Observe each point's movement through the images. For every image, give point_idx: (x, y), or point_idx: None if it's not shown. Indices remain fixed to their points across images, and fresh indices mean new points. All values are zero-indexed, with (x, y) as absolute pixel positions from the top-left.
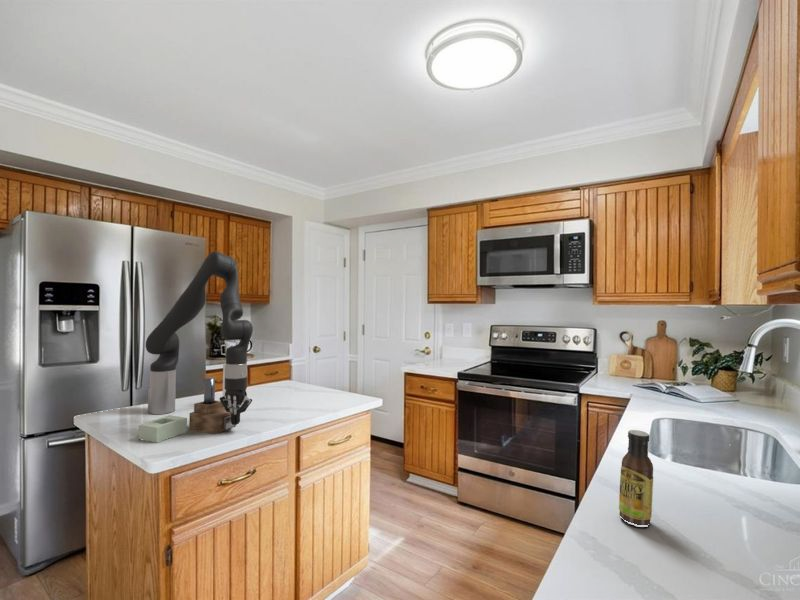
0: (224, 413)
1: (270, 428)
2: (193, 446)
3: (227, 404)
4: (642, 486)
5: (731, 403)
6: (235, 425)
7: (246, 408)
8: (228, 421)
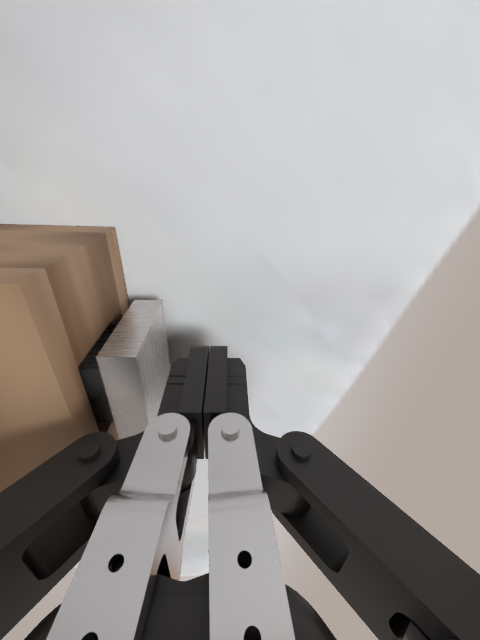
0: (67, 445)
1: (454, 174)
2: (196, 508)
3: (25, 564)
4: None
5: None
6: (114, 237)
7: (363, 488)
8: (158, 398)
